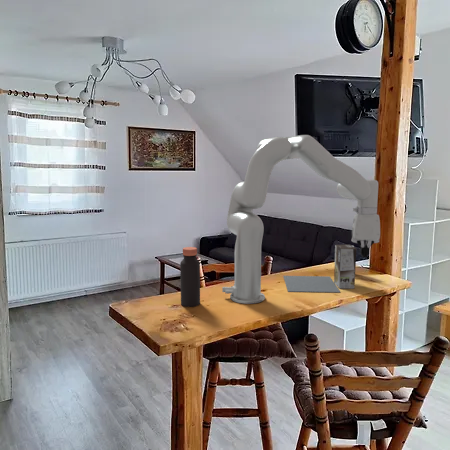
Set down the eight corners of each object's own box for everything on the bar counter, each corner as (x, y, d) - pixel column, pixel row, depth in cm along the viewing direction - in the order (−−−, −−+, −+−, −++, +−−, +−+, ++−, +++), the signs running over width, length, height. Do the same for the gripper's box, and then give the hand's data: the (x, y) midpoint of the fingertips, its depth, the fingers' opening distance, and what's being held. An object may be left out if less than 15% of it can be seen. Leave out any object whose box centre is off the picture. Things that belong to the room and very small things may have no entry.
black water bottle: (203, 302, 151) (202, 247, 148) (194, 308, 145) (194, 251, 142) (186, 299, 153) (185, 245, 150) (177, 305, 147) (176, 249, 144)
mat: (287, 291, 163) (287, 291, 163) (283, 276, 185) (283, 275, 184) (340, 292, 162) (340, 292, 162) (329, 277, 183) (329, 276, 183)
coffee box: (355, 288, 167) (357, 248, 164) (338, 288, 167) (340, 248, 165) (349, 282, 176) (350, 244, 173) (333, 282, 176) (334, 244, 174)
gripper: (349, 212, 163) (347, 258, 166) (389, 212, 162) (386, 259, 165) (345, 209, 171) (343, 254, 173) (383, 210, 170) (380, 255, 172)
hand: (364, 256), depth 169 cm, fingers closed
